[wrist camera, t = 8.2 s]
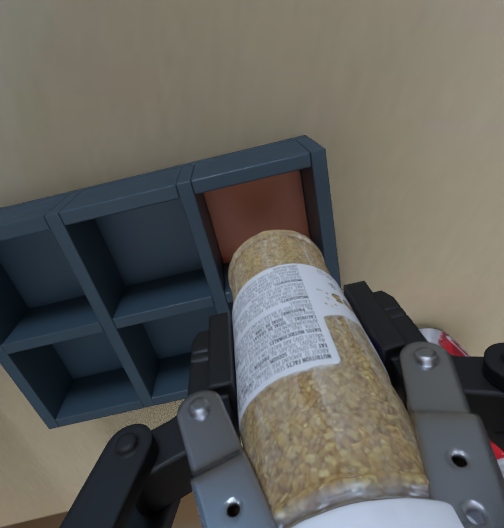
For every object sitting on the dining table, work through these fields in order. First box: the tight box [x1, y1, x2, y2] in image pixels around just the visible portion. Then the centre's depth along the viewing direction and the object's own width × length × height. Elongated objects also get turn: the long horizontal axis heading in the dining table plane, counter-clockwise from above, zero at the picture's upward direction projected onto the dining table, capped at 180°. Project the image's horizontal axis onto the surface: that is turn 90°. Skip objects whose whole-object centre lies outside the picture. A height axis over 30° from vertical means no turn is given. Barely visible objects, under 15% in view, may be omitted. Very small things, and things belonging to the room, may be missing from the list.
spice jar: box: [228, 230, 478, 528], centre depth 11 cm, size 5×5×13 cm
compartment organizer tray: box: [0, 135, 341, 429], centre depth 25 cm, size 22×15×5 cm
